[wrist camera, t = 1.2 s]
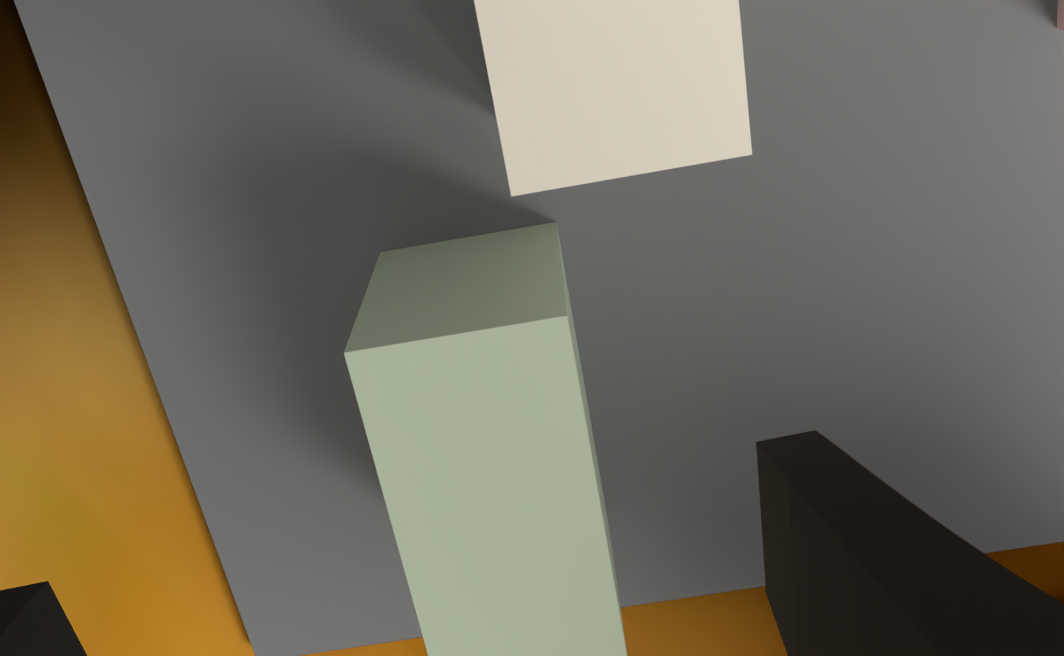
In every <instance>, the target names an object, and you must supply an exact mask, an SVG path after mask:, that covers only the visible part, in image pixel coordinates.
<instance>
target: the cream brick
mask: <svg viewBox="0 0 1064 656" xmlns="http://www.w3.org/2000/svg"><path fill="white" fill-rule="evenodd" d="M474 3H475V9H476V14H477V19H478V24H479V30H480V35H481V40H482V45H483V51H484V56H485V61H486V66H487V72H488V77H489V82H490V87H491V93H492V98H493V103H494V109H495V114H496V119H497V124H498V130H499V135H500V140H501V145H502V151H503V156H504V161H505V166H506V172H507V177H508V182H509V187H510V193H511V197H512V196H517V195H523V194H529V193H535V192H540V191H546V190H552V189H558V188H563V187H569V186H575V185H581V184H586V183H592V182H598V181H604V180H609V179H615V178H621V177H627V176H633V175H638V174H644V173H650V172H656V171H661V170H667V169H673V168H679V167H684V166H690V165H696V164H702V163H707V162H713V161H719V160H725V159H730V158H736V157H742V156H748V155H752V146H751V134H750V123H749V112H748V100H747V89H746V77H745V66H744V55H743V43H742V32H741V20H740V9H739V0H474Z"/></svg>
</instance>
